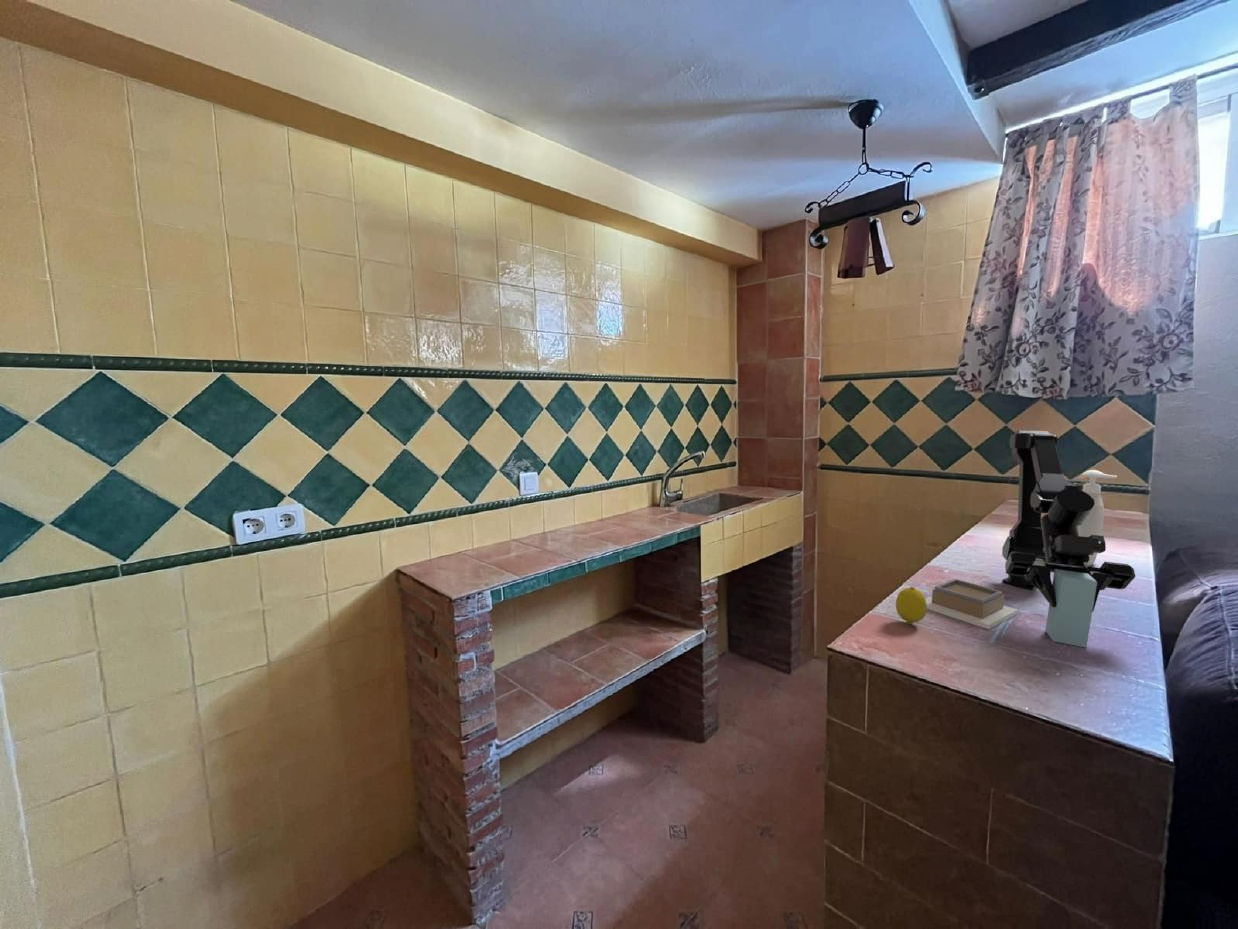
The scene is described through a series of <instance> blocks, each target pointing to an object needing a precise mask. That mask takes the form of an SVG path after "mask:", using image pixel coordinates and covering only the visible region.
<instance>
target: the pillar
mask: <svg viewBox="0 0 1238 929" xmlns="http://www.w3.org/2000/svg"><path fill="white" fill-rule="evenodd" d="M1052 586H1053V590H1054V594H1055V598H1056V606H1055V607H1052V606H1051V605H1050V604H1049V603H1048V604H1049V605H1048V609H1047V610H1048V611H1047V618H1046V625H1045V632H1046V634H1047V635H1048V637H1049V638H1050V639H1051V641H1052V642H1056V643H1060V644H1066V645H1070V646H1077V647H1081V648H1087V646H1088V639H1089V634H1090V627H1091V622H1092V617H1093V612H1094V611H1093V605H1094V599H1095V593H1096V586H1097V581H1096V580H1094V579H1093V578H1092V577H1091V576H1090V575H1089V574H1087V573H1080V572H1073V571H1066V570H1058V569H1055V570H1054V572H1053V578H1052ZM1092 611H1093V612H1092Z"/></svg>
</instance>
